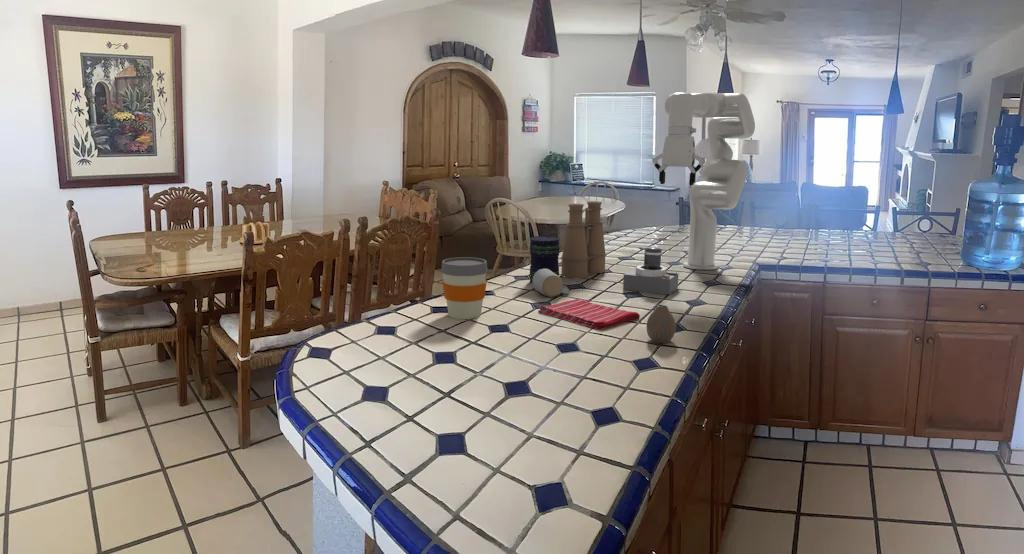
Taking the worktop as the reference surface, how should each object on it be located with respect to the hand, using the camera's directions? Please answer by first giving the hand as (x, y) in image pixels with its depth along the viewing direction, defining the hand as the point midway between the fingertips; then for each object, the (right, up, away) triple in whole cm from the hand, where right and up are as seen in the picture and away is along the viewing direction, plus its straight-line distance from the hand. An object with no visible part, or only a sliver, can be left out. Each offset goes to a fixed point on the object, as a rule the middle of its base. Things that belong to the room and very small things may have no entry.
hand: (676, 184), depth 225 cm
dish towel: (-34, -42, -38) cm, 66 cm away
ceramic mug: (-43, -37, -15) cm, 58 cm away
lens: (-10, -30, -9) cm, 33 cm away
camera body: (-10, -35, -8) cm, 37 cm away
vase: (-19, -47, -61) cm, 79 cm away
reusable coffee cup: (-68, -41, -39) cm, 88 cm away
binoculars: (-29, -30, +16) cm, 45 cm away
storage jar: (-44, -33, +1) cm, 55 cm away
